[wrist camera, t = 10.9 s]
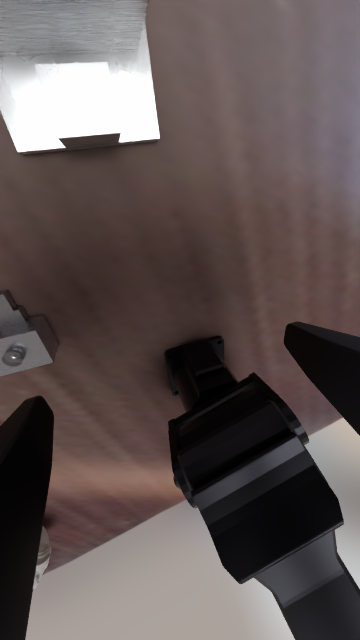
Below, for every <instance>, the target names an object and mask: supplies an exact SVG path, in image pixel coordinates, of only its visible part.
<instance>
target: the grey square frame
mask: <svg viewBox="0 0 360 640" xmlns="http://www.w3.org/2000/svg"><path fill="white" fill-rule="evenodd" d="M148 3H149V0H0V54H34V53H76V52H118V51H138V48H139V43H140V39H141V34H142V30H143V26H144V21H145V17H146V12H147V8H148Z"/></svg>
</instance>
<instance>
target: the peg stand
mask: <svg viewBox="0 0 360 640" xmlns="http://www.w3.org/2000/svg"><path fill="white" fill-rule="evenodd" d="M0 110H1V112H2V115H3V117H4V120H5V122H6V125H7V127H8V130H9V132H10V135H11V137H12V140H13V142H14V145H15V147H16V149H17V152H18V153H20V154H23V155H27V154H37V153H47V152H57V151H67V150H77V149H87V148H97V147H107V146H117V145H127V144H137V143H148V142H157V141H158V140H159V139H160V136H159V128H158V120H157V112H156V105H155V97H154V89H153V81H152V74H151V66H150V58H149V50H148V42H147V35H146V27H145V21H144V26H143V30H142V34H141V39H140V43H139V48H138V51H118V52H76V53H34V54H0Z"/></svg>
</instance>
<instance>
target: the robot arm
mask: <svg viewBox="0 0 360 640" xmlns="http://www.w3.org/2000/svg"><path fill="white" fill-rule="evenodd" d="M219 340H220V341H219ZM218 341H219V342H218ZM284 345H285V347H286V348H287V350H288V351H289V352H290V354H291V355H292V356H293V358H294V359H295V361H296V362H297V363H298V365H299V366H300V367H301V369H302V370H303V371H304V373H305V374H306V375H307V377H308V378H309V379H310V380H311V381H312V383H313V384H314V385H315V386H316V387H317V388H318V389H319V391H320V392H321V393H322V394H323V395H324V396H325V397H326V398H327V400H328V401H329V402H330V403H331V404H332V405H333V406H334V407H335V408H336V410H337V411H338V412H339V413H340V414H341V415H342V416H343V417H344V419H345V420H346V421H347V422H348V423H349V424H350V425H351V426H352V427H353V429H354V430H355V431H356V432H357V433H358V434H359V435H360V337H357V336H353V335H349V334H345V333H341V332H337V331H333V330H329V329H325V328H322V327H318V326H314V325H310V324H306V323H302V322H293V323H290V324H288V325H287V326H286V330H285V336H284ZM169 354H171V355H170V356H168V355H169ZM165 360H166V365H167V370H168V375H169V380H170V385H171V390H172V393H173V395H175V396H176V395H180V397H181V400H182V403H183V405H184V408H185V411H186V413H185V414H183V415H181V416H179V417H178V418H176V419H172V420H170V421H169V422H168V425H169V431H168V432H169V442H170V451H171V460H172V470H173V473H174V483H175V485H176V487H178V488H180V489H181V490H182V492H183V494H184V496H185V497H186V499H187V501H188V502H189V503H190V505H191V506H192V507H193V508H197V507H198V508H199V511H200V513H201V515H202V517H203V519H204V521H205V523H206V525H207V527H208V530H209V532H210V535H211V537H212V539H213V542H214V545H215V547H216V550H217V552H218V555H219V558H220V560H221V563H222V565H223V566H224V568H225V569H226V570H227V571H228V572H229V573H230V574H231V576H232V577H233V578H234V579H235V580H236V581H237V582H238V583H239V584H243V583H245V582H246V581H248V580H250V579H251V578H253V577H254V578H255V579H257V580H258V581H259V582H260V583H261V584H263V585H264V586H265V587H267V588H268V589H269V590H270V591H271V592H272V594H273V596H274V597H275V599H276V601H277V603H278V605H279V607H280V609H281V611H282V613H283V616H284V618H285V620H286V622H287V624H288V626H289V628H290V630H291V632H292V634H293V636H294V638H295V640H360V589H359V588H358V586H357V584H356V583H355V581H354V579H353V578H352V576H351V575H350V573H349V571H348V570H347V568H346V567H345V565H344V563H343V561H342V560H341V558H340V556H339V555H338V553H337V547H336V538H335V529H337V528H338V527H340V526H342V525H343V524H344V521H343V517H342V512H341V508H340V505H339V501H338V498H337V497H336V495H335V494H334V492H333V491H332V489H331V488H330V487H329V485H328V483H327V481H326V479H325V477H324V476H323V475H322V473H321V471H320V470H319V468H318V466H317V465H316V463H315V462H314V460H313V458H312V457H311V455H310V454H309V452H308V451H307V449H306V448H305V446H304V445H305V444H307V443H308V442H309V438H308V436H307V434H306V432H305V430H304V428H303V426H302V425H301V423H300V422H299V420H298V419H297V417H296V416H295V414H294V413H293V412H292V410H291V409H290V408H289V407H288V405H287V404H286V403H285V402H284V401H283V400H282V399H281V398H280V397H279V396H278V395H277V394H276V393H275V392H274V391H273V390H272V389H271V388H270V387H269V386H268V385H267V384H266V383H265V382H264V381H263V380H262V379H261V378H260V377H258V376H257V375H256V374H255V373H254V372H253V373H252V374H250V375H249V377H247V378H245V379H243V380H242V381H240V382H238V381H237V379H236V378H235V376H234V375H233V373H232V372H231V371H230V369H229V368H228V366H227V365H226V364H225V362H224V339H223V338H222V337H221V336H217V337H214V338H210V339H207V340H203V341H199V342H196V343H192V344H189V345H185V346H182V347H178V348H174V349H171V350H168V351H166V352H165ZM53 429H54V415H53V411H52V410H51V408H50V407H49V405H48V404H47V402H46V401H45V399H44V398H43V397H42V396H35V397H32V398H28V399H26V400H25V401H24V402H23V403H22V404H21V405H20V406H19V407H18V408H17V409H16V410H15V411H14V412H13V413H12V414H11V416H10V417H9V418H8V419H7V420H6V421H5V422H4V423H3V424H2V425H1V426H0V640H25V637H26V631H27V624H28V618H29V612H30V605H31V598H32V592H33V586H34V579H35V573H36V566H37V560H38V553H39V547H40V540H41V534H42V527H43V521H44V514H45V508H46V501H47V495H48V488H49V482H50V475H51V468H52V453H53Z"/></svg>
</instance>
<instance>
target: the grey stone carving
mask: <svg viewBox="0 0 360 640" xmlns="http://www.w3.org/2000/svg"><path fill="white" fill-rule="evenodd" d="M48 542H49V536H48V534H47V532H46V530H45V528H44V526H43V527H42V534H41V540H40V547H39V553H38V560H37V566H36V573H35V579H34V586H33V589H34V588H36V587H37V583H38V582H39V579H40V577H41V576H42V574H43V571H44V570H45V568H46V567H47V565H48V563H49V558H50V554H51V546H50V545H49V544H48Z"/></svg>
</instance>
